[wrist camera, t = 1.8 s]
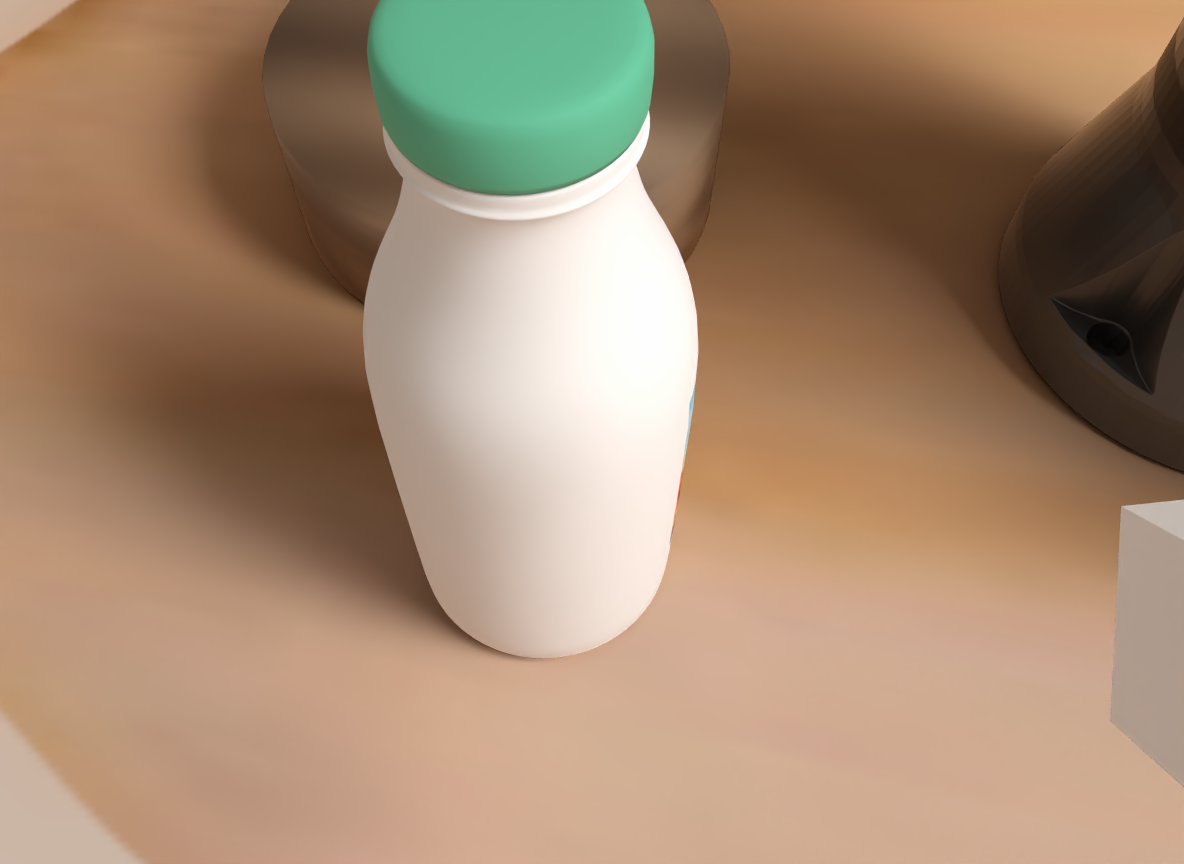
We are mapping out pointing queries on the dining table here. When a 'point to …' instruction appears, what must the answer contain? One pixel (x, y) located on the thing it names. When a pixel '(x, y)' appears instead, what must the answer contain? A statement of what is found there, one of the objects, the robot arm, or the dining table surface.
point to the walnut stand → (373, 185)
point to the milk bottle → (528, 316)
